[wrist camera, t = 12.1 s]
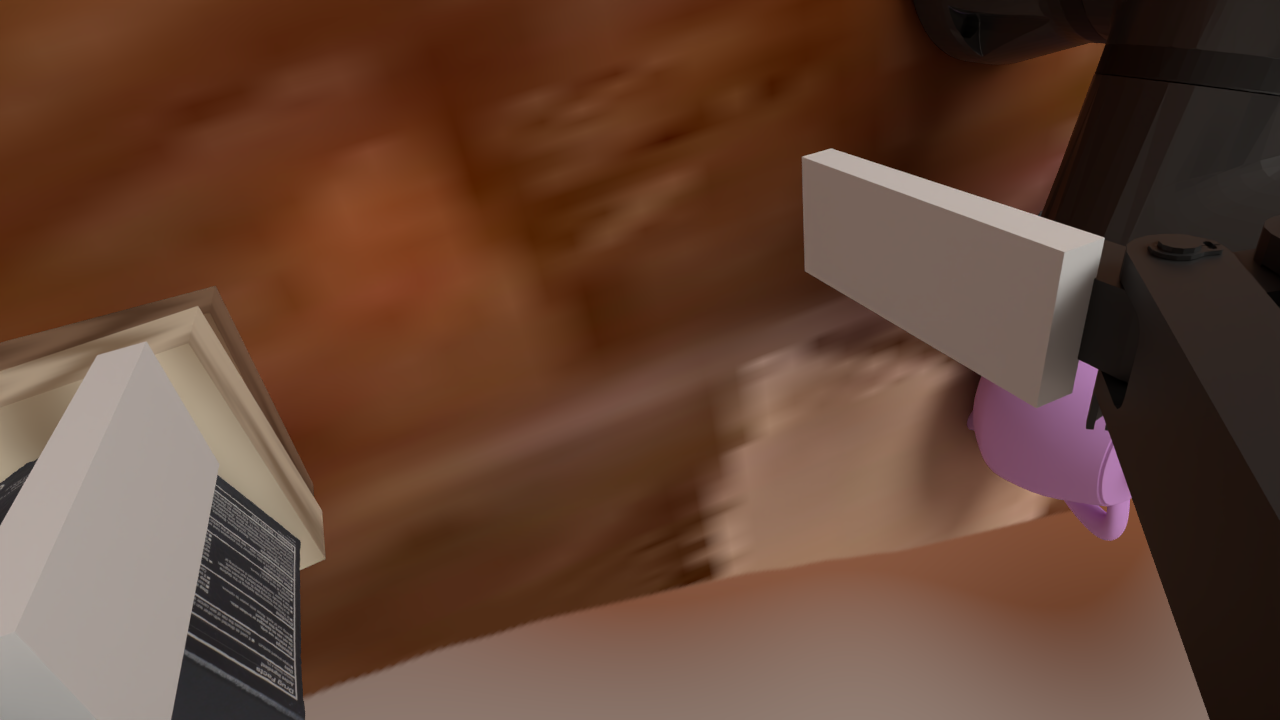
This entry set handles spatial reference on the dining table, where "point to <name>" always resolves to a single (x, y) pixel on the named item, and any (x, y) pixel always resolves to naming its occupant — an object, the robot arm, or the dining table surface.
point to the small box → (235, 615)
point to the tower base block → (95, 328)
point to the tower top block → (213, 395)
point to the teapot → (1055, 451)
